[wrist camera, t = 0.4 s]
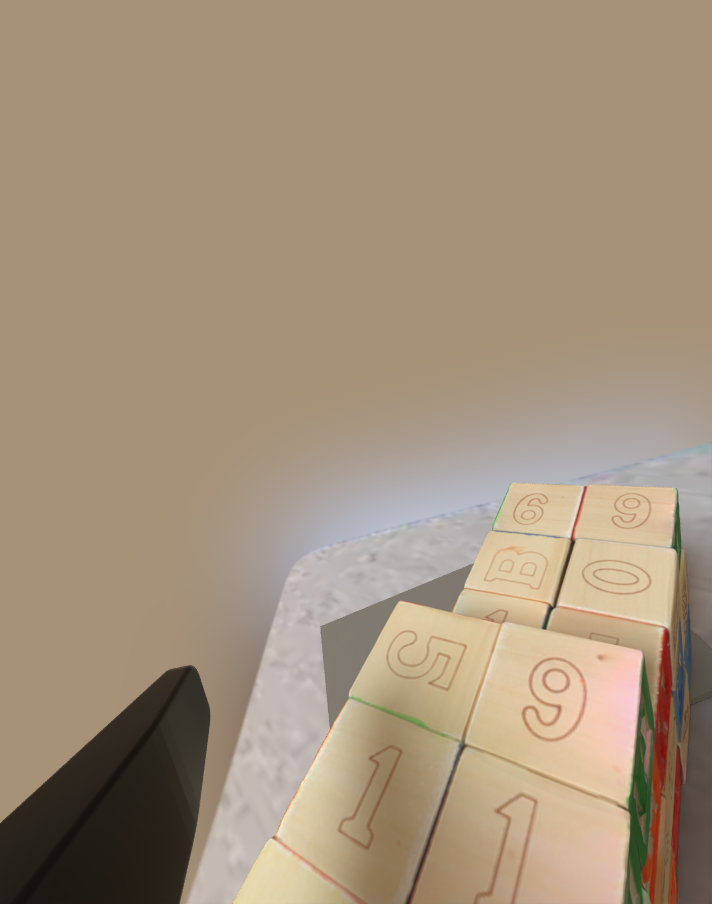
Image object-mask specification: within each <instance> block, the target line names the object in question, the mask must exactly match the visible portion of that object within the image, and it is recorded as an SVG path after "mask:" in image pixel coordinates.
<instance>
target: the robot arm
mask: <svg viewBox="0 0 712 904" xmlns="http://www.w3.org/2000/svg"><path fill="white" fill-rule="evenodd" d="M209 726H210V708H209V704H208V701H207V698H206V695H205V692H204V689H203V685H202V682H201V679H200V676H199V673H198V671H197V669H196V668H195V667H194V666H192V665H189V666H184V667H179V668H174V669H170V670H168V671H166V672H165V673H164V674H163V675H162V676H161V677H160V678H158V680H156V681H155V682H154V683H153V684H152V685H151V686H150V687H149V688H148V689H146V690H145V691H144V692H143V693H142V694H141V695H140V696H139V697H138V698H137V699H136V700H134V701H133V702H132V703H131V704H130V705H129V706H128V707H127V708H126V709H125V710H123V711H122V712H121V713H120V714H119V715H118V716H117V717H116V718H115V719H114V720H113V721H111V722H110V723H109V724H108V725H107V726H106V727H105V728H104V729H103V730H102V731H100V732H99V733H98V734H97V735H96V736H95V737H94V738H93V739H92V740H91V741H89V742H88V743H87V744H86V745H85V746H84V747H83V748H82V749H81V750H80V751H79V752H77V753H76V754H75V755H74V756H73V757H72V758H71V759H70V760H69V761H68V762H67V763H66V764H64V765H63V766H62V767H61V768H60V769H59V770H58V771H57V772H56V773H55V774H53V775H52V776H51V777H50V778H49V779H48V780H47V781H46V782H45V783H44V784H42V786H40V787H39V788H38V789H37V790H36V791H35V792H34V793H33V794H32V795H30V796H29V797H28V798H27V799H26V800H25V801H24V802H23V803H22V804H21V805H20V806H18V807H17V808H16V809H15V810H14V811H13V812H12V813H11V814H10V815H9V816H7V817H6V818H5V819H4V820H3V821H2V822H1V823H0V904H180V900H181V896H182V891H183V887H184V882H185V877H186V873H187V868H188V864H189V860H190V855H191V851H192V846H193V841H194V837H195V832H196V826H197V820H198V814H199V807H200V799H201V790H202V782H203V774H204V766H205V759H206V751H207V742H208V734H209Z"/></svg>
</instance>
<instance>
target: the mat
mask: <svg viewBox="0 0 712 904" xmlns="http://www.w3.org/2000/svg"><path fill="white" fill-rule="evenodd" d="M473 565H474V563H473V564H471V565H468V566H466V567H464V568H461V569H459V570H456V571H454V572H451V573H449V574H447V575H444V576H442V577H439V578H437V579H434V580H432V581H430V582H427V583H425V584H422V585H420V586H417V587H415V588H413V589H410V590H408V591H405V592H403V593H400V594H398V595H396V596H393V597H391V598H388V599H386V600H383V601H381V602H379V603H376V604H374V605H371V606H369V607H367V608H364V609H362V610H359V611H357V612H354V613H352V614H350V615H347V616H345V617H342V618H340V619H337V620H335V621H333V622H330V623H328V624H325V625H323V626H320V627H321V638H322V648H323V659H324V670H325V680H326V691H327V702H328V712H329V723H330V729H331V727H332V725H333V723H334V722H335V720H336V718H337V717H338V715H339V713H340V712H341V710H342V708H343V707H344V705H345V703H346V702H347V700H348V699H349V691H350V689H351V687H352V685H353V684H354V682H355V680H356V678H357V676H358V674H359V672H360V671H361V669H362V667H363V665H364V663H365V661H366V659H367V658H368V656H369V654H370V652H371V651H372V649H373V647H374V645H375V644H376V641H377V639H378V637H379V636H380V634H381V632H382V630H383V628H384V626H385V625H386V623H387V621H388V619H389V617H390V615H391V614H392V612H393V610H394V608H395V607H396V605H397V603H398V602H399V601H401V600H402V601H408V602H412V603H416V604H420V605H424V606H427V607H431V608H435V609H439V610H443V611H448V612H452V610H453V608H454V606H455V603H456V601H457V599H458V596H459V595H460V593H461V592H462V591H463V590H464V586H465V582H466V580H467V578H468V576H469V574H470V572H471V569H472V567H473ZM690 635H691V669H690V688H689V704H690V705H692V704H694V703H697V702H699V701H702V700H704V699H707V698H709V697H712V650H711V649H710V648H709V647H708V646H707V645H706V644H705V643H704V642H703V641H702V640H701V639H700V638H699V637H698V636H697V635H696V634H694V633H693V632H692V631H691V630H690Z"/></svg>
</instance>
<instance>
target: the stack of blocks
mask: <svg viewBox="0 0 712 904" xmlns="http://www.w3.org/2000/svg"><path fill="white" fill-rule="evenodd" d="M688 602H689V593H688V578H687V564H686V553H685V549H683V548H681V531H680V518H679V503H678V490H677V488H664V487H636V486H612V485H588V486H586V487H584V486H579V485H557V484H526V483H512V484H511V485H510V487H509V489H508V491H507V493H506V496H505V498H504V500H503V503H502V505H501V507H500V509H499V512H498V514H497V516H496V518H495V521H494V523H493V528H492V531H490V532H488V534H487V536H486V538H485V540H484V543H483V545H482V547H481V549H480V551H479V553H478V555H477V558H476V560H475V562H474V565H473V567H472V569H471V572H470V574H469V576H468V578H467V580H466V582H465V586H464V590H463V591H462V592H461V593H460V595H459V596H458V599H457V601H456V603H455V606H454V608H453V610H452V612H448V611H443V610H439V609H435V608H431V607H427V606H424V605H420V604H416V603H412V602H408V601H402V600H401V601H399V602H398V603H397V605H396V607H395V608H394V610H393V612H392V614H391V615H390V617H389V619H388V621H387V623H386V625H385V626H384V628H383V630H382V632H381V634H380V636H379V637H378V639H377V641H376V644H375V645H374V647H373V649H372V651H371V652H370V654H369V656H368V658H367V659H366V661H365V663H364V665H363V667H362V669H361V671H360V672H359V674H358V676H357V678H356V680H355V682H354V684H353V685H352V687H351V689H350V691H349V699H348V700H347V702H346V703H345V705H344V707H343V708H342V710H341V712H340V713H339V715H338V717H337V718H336V720H335V722H334V723H333V725H332V727H331V729H330V731H329V732H328V734H327V736H326V738H325V740H324V742H323V744H322V746H321V747H320V749H319V751H318V753H317V755H316V757H315V759H314V761H313V763H312V765H311V767H310V770H309V771H308V773H307V774H306V776H305V778H304V779H303V781H302V783H301V784H300V786H299V788H298V790H297V792H296V793H295V795H294V797H293V799H292V801H291V803H290V805H289V807H288V809H287V811H286V813H285V814H284V816H283V818H282V821H281V823H280V826H279V828H278V831H277V833H276V835H275V836H273V837H272V838H270V839H269V840H268V841H267V843H266V844H265V846H264V848H263V850H262V851H261V853H260V855H259V857H258V858H257V860H256V862H255V864H254V865H253V867H252V869H251V871H250V873H249V875H248V876H247V878H246V880H245V882H244V884H243V885H242V887H241V889H240V891H239V893H238V894H237V896H236V898H235V900H234V902H233V903H232V904H676V900H677V881H676V862H677V847H678V827H679V813H680V794H681V790H680V786H681V785H684V784H685V782H686V770H687V753H688V735H689V717H690V704H689V688H690V669H691V635H690V619H689V603H688Z"/></svg>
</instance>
